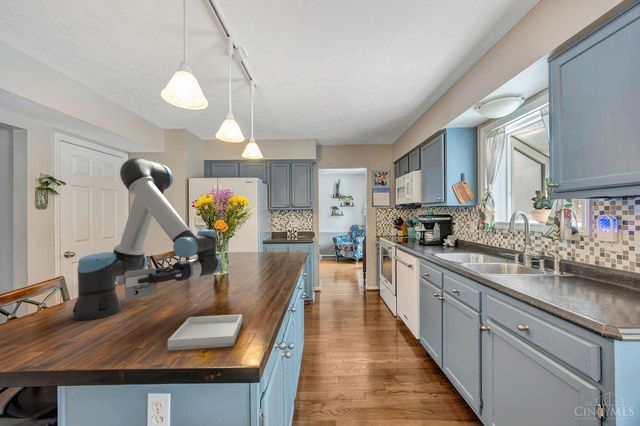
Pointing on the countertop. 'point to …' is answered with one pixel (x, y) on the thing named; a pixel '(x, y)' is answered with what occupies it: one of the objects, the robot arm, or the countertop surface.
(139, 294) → the electrical switch
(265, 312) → the countertop surface
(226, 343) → the white square tray
